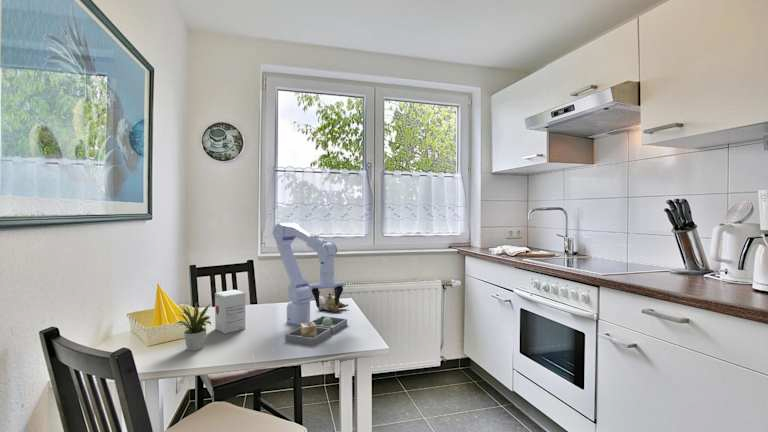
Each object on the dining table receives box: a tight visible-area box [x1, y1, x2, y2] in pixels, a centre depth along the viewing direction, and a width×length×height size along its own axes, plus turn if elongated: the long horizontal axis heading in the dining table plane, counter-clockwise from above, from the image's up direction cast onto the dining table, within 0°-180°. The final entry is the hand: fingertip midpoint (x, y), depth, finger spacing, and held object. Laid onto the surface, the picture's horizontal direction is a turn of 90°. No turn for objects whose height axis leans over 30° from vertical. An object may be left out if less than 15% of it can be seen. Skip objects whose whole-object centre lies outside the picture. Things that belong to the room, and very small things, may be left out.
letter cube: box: [300, 322, 317, 338], centre depth 139 cm, size 5×5×5 cm
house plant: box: [175, 300, 212, 352], centre depth 129 cm, size 14×14×16 cm
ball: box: [322, 316, 332, 327], centre depth 151 cm, size 4×4×4 cm
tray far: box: [309, 315, 348, 335], centre depth 151 cm, size 12×12×3 cm
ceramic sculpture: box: [317, 293, 349, 313], centre depth 178 cm, size 11×9×15 cm
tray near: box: [284, 326, 332, 347], centre depth 139 cm, size 12×12×3 cm
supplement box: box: [214, 289, 246, 334], centre depth 151 cm, size 9×9×15 cm
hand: (327, 305), depth 151 cm, fingers open, 7 cm apart
